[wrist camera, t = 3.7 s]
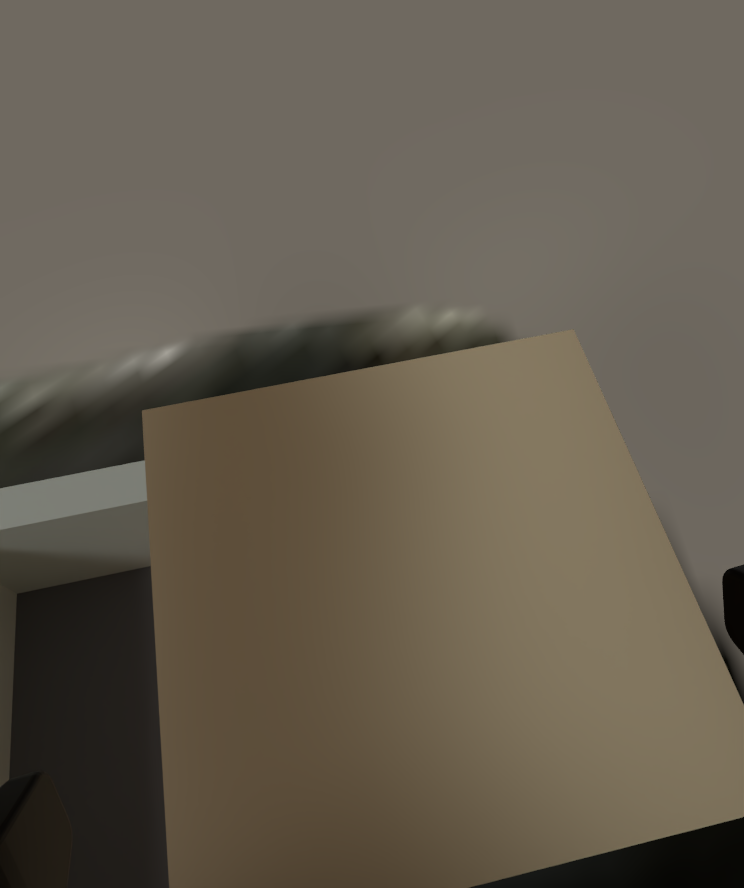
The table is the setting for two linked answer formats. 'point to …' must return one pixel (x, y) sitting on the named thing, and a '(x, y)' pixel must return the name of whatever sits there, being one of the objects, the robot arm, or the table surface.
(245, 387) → the table surface
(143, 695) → the trap trough
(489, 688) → the maple block
